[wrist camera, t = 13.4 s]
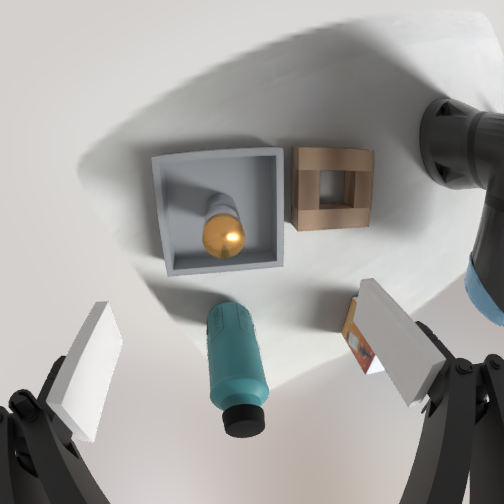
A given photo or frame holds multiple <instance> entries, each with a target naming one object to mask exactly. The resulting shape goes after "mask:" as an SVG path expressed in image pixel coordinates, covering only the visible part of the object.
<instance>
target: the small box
mask: <svg viewBox="0 0 504 504" xmlns="http://www.w3.org/2000/svg"><path fill="white" fill-rule="evenodd" d="M357 300H358V297H352V301H351V305H350V308H349V312H348V315H347V318H346V321H345V324H344V327H343V329H342V332H341V333H342V335H343V337H344V339H345V340H346V342H347V344H348V346H349V347H350V349H351V351H352V352H353V354H354V356H355V358H356V359H357V361H358V363H359V364H360V366H361V368H362V370H363V371H364V373H365V374H372V373H376V372H380V371H385V369H384V367H383V366H382V364H381V362H380V361H379V359H378V358H377V356H376V355H375V353H374V352H373V350H372V349H371V347H370V345H369V344H368V342H367V341H366V339H365V338H364V336H363V335H362V333H361V332H360V330H359V329H358V327H357V326H356V324H355V323H354V321H353V319H354V315H355V310H356V305H357Z"/></svg>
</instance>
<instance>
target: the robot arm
mask: <svg viewBox="0 0 504 504" xmlns="http://www.w3.org/2000/svg"><path fill="white" fill-rule="evenodd" d="M420 148H421V154H422V158H423V162H424V164H425V167H426V169H427V171H428V173H429V174H430V176H431V177H432V178H433V180H434V181H435V182H437V183H438V184H440V185H442V186H444V187H447V188H450V189H455V190H459V189H471V188H482V189H485V190H487V191H486V197H485V202H484V208H483V212H482V217H481V221H480V225H479V229H478V233H477V237H476V240H475V244H474V247H473V251H472V252H471V253H470V257H469V265H468V268H467V272H466V275H465V288H466V292H467V293H468V296H469V298H470V300H471V301H472V303H473V304H474V305H475V307H476V308H477V309H478V310H479V311H480V312H481V313H482V314H483V315H484V316H485V317H486V318H488V319H489V320H490V321H492V322H493V323H495V324H496V325H498V326H502V325H503V326H504V114H501V113H492V112H482V111H479V110H477V109H475V108H473V107H471V106H469V105H467V104H465V103H462V102H460V101H458V100H454V99H439V100H436V101H434V102H433V103H432V104H431V105H430V106H429V107H428V108H427V110H426V111H425V113H424V116H423V119H422V122H421V128H420ZM353 321H354V323H355V324H356V326H357V327H358V329H359V330H360V332H361V333H362V335H363V336H364V338H365V339H366V341H367V342H368V344H369V345H370V347H371V349H372V350H373V352H374V353H375V355H376V356H377V358H378V359H379V361H380V362H381V364H382V366H383V367H384V369H385V370H386V372H387V373H388V375H389V377H390V378H391V380H392V381H393V383H394V385H395V386H396V388H397V389H398V391H399V393H400V394H401V396H402V397H403V399H404V401H405V402H406V404H407V406H408V407H411V406H413V405H415V404H418V403H420V402H421V401H422V400H423V399H424V397H425V396H426V394H428V396H429V397H430V399H429V401H428V402H427V404H426V405H425V406H424V408H423V409H422V412H421V413H423V412H424V411H425V410H426V414H425V419H424V424H423V429H422V433H421V437H420V441H419V445H418V449H417V453H416V456H415V460H414V463H413V466H412V470H411V473H410V476H409V479H408V482H407V485H406V487H405V490H404V493H403V496H402V498H401V501H400V503H399V504H462V501H463V497H464V493H465V489H466V484H467V479H468V474H469V471H470V504H504V360H503V359H502V358H501V357H500V356H498V355H496V354H490V355H488V356H487V357H486V359H485V360H484V362H483V363H479V364H472V363H471V362H470V361H468V360H466V359H464V358H457V359H456V358H455V357H454V356H453V355H452V354H451V352H450V351H449V350H448V349H447V348H446V347H445V346H444V345H443V343H442V342H441V341H440V340H438V338H437V337H436V335H435V334H433V332H432V331H431V330H430V329H429V328H428V327H427V326H426V325H424V324H423V323H421V322H419V321H417V322H414V321H413V320H412V319H411V318H410V317H409V316H408V314H407V313H406V312H405V311H404V310H403V309H402V308H401V307H400V306H399V305H398V304H397V303H396V301H395V300H394V299H393V298H392V297H391V296H390V295H389V294H388V293H387V292H386V291H385V290H384V289H383V288H382V287H381V286H380V285H379V284H378V283H377V282H376V281H375V280H374V279H373V278H370V279H363V280H361V283H360V289H359V294H358V300H357V305H356V310H355V315H354V319H353ZM122 344H123V340H122V338H121V335H120V333H119V330H118V327H117V325H116V322H115V319H114V316H113V313H112V310H111V307H110V305H109V302H96V303H95V305H94V306H93V308H92V310H91V312H90V313H89V315H88V317H87V319H86V320H85V322H84V324H83V326H82V327H81V329H80V331H79V333H78V335H77V337H76V339H75V340H74V342H73V344H72V346H71V348H70V350H69V352H68V354H67V356H61V357H60V358H59V359H58V360H57V361H56V362H55V363H54V364H53V367H52V369H51V370H50V373H49V374H48V376H47V379H46V381H45V383H44V385H43V387H42V389H41V391H40V394H39V396H38V398H37V400H36V398H35V397H34V396H33V395H32V393H31V392H30V391H28V390H24V389H21V390H18V391H17V392H15V393H14V394H13V395H12V396H11V397H10V400H9V408H10V409H11V410H12V412H13V413H9V412H8V411H7V410H6V409H5V408H4V407H2V406H0V504H110V502H109V501H108V500H107V498H106V497H105V495H104V494H103V492H102V491H101V489H100V488H99V486H98V484H97V483H96V481H95V480H94V478H93V477H92V475H91V473H90V471H89V470H88V468H87V466H86V464H85V463H84V461H83V459H82V457H81V455H80V453H79V451H78V449H77V448H76V446H75V444H74V442H73V441H72V440H71V437H72V434H74V435H75V436H76V437H77V438H78V439H79V440H83V441H87V442H92V443H94V440H95V436H96V432H97V428H98V424H99V420H100V416H101V413H102V409H103V405H104V402H105V398H106V395H107V391H108V388H109V385H110V381H111V378H112V375H113V372H114V368H115V365H116V362H117V359H118V356H119V353H120V350H121V347H122ZM487 396H488V397H489V402H487V400H486V398H487ZM15 451H16V456H15Z"/></svg>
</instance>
